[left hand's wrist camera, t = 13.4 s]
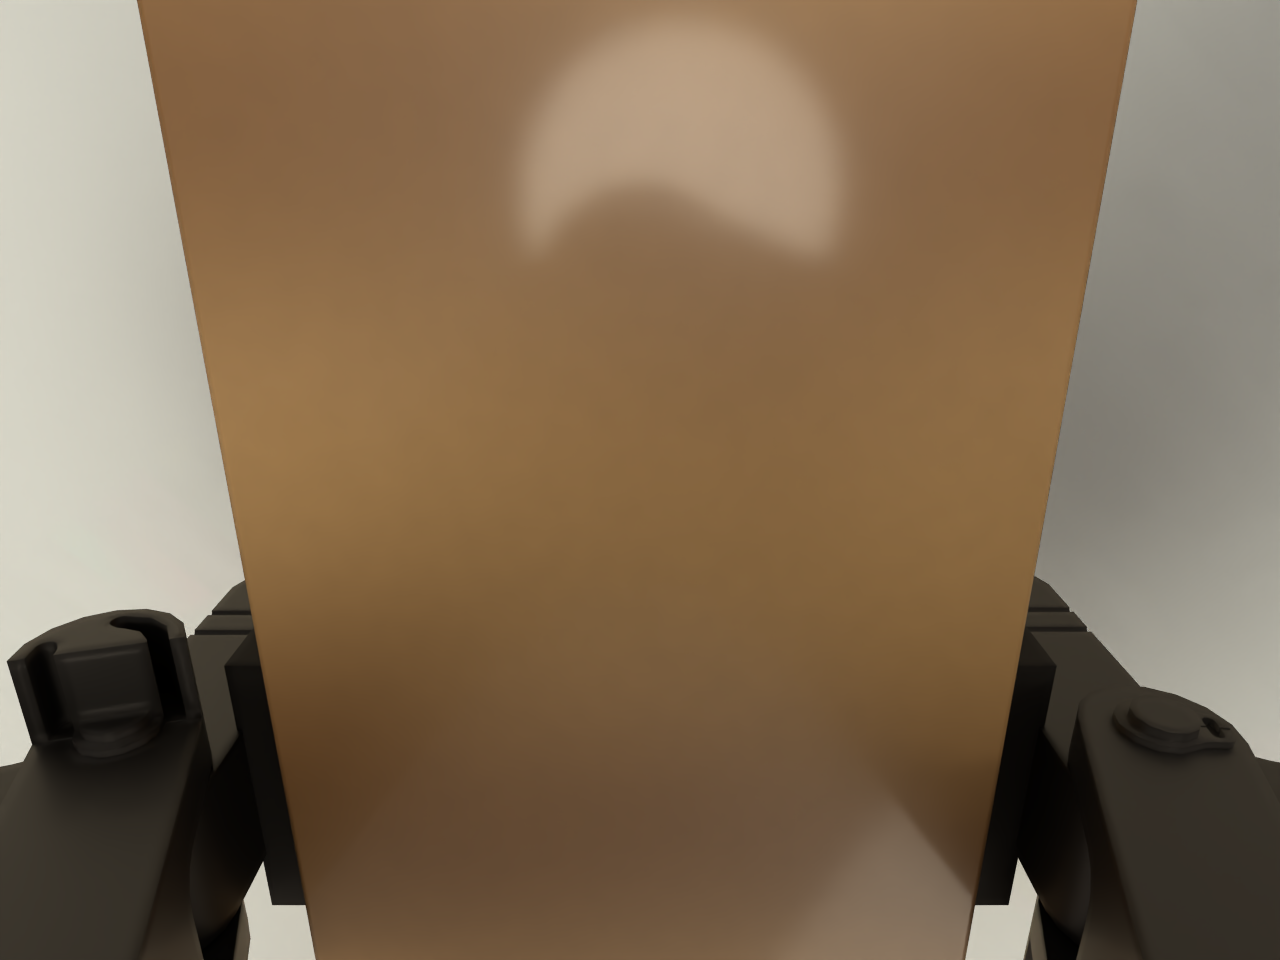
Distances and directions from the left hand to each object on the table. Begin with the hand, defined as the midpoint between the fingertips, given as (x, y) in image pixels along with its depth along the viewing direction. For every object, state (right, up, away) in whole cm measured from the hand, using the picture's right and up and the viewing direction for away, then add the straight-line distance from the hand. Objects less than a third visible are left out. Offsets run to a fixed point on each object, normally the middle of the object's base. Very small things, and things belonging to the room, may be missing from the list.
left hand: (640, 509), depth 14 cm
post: (0, -27, +11) cm, 29 cm away
